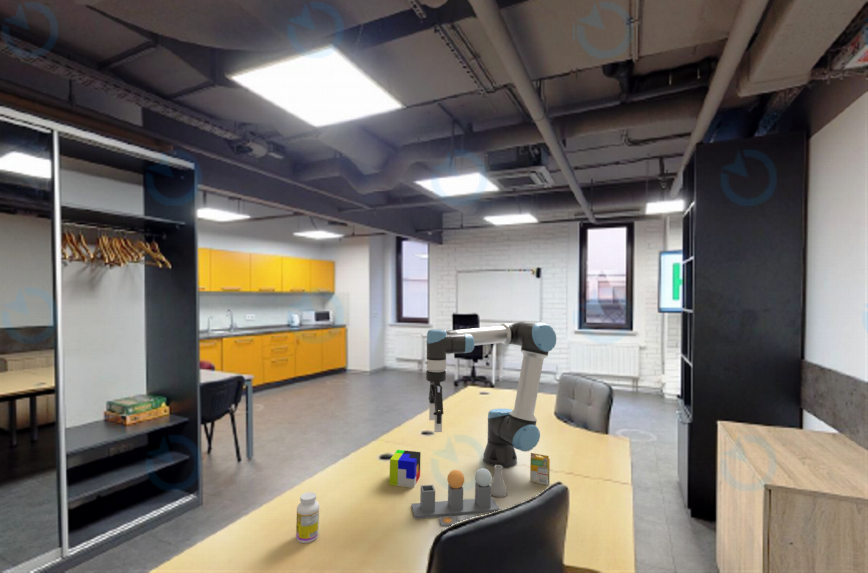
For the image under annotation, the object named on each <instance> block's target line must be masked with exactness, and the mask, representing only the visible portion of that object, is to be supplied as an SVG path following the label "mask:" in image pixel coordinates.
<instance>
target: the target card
mask: <svg viewBox="0 0 868 573" xmlns="http://www.w3.org/2000/svg"><path fill="white" fill-rule="evenodd" d="M476 516H480V517H481V515H480V514H469V515H457V516H445V517H438V520H439V524H440V527H441V526H443V527H451V526H450V525H452V524H455V523H457V522H460V521H463V520H466V519H470V518H472V517H476ZM443 527H442V528H443Z"/></svg>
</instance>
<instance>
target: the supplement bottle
mask: <svg viewBox="0 0 868 573" xmlns="http://www.w3.org/2000/svg"><path fill="white" fill-rule="evenodd" d="M299 501H300V502H299V504H297V506H296V524H295V525H296V526H295V528H296V529H295V530H296V531H295V533H296V534H295V538H296V541H297V542H299V543H300V544H309V543H313V542H314V541H315V540H317V538H318V537H319V531H320V503H319V502H318V501H317V494H316V493H315V492H314V491H308V492H303V493H301V495H300V499H299Z"/></svg>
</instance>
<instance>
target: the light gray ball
mask: <svg viewBox="0 0 868 573" xmlns="http://www.w3.org/2000/svg"><path fill="white" fill-rule="evenodd" d="M492 480H493V478H492V473H491V472H490V471H489V469H487V468H483V467H481V468H478V469H477V470H476V471H475V473H474V481H475V482H476V483H477V484H478V485H479V486H482V487H486V486H488V485H491V483H492Z"/></svg>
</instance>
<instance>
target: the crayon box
mask: <svg viewBox="0 0 868 573" xmlns="http://www.w3.org/2000/svg"><path fill="white" fill-rule="evenodd" d="M550 460H551V459H550V458H549V455H546V454H545V455H544V454H539V453H536V452H535V453H534V452H533V453H532V452H530V464H529V465H530V467H529V468H530V470H529V471H530V472H529V473H530V474H529V482H532V483H537V484H542V485H546V486H548V485H549V484H550V471H551V470H550V467H551V466H550V464H551V461H550Z"/></svg>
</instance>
